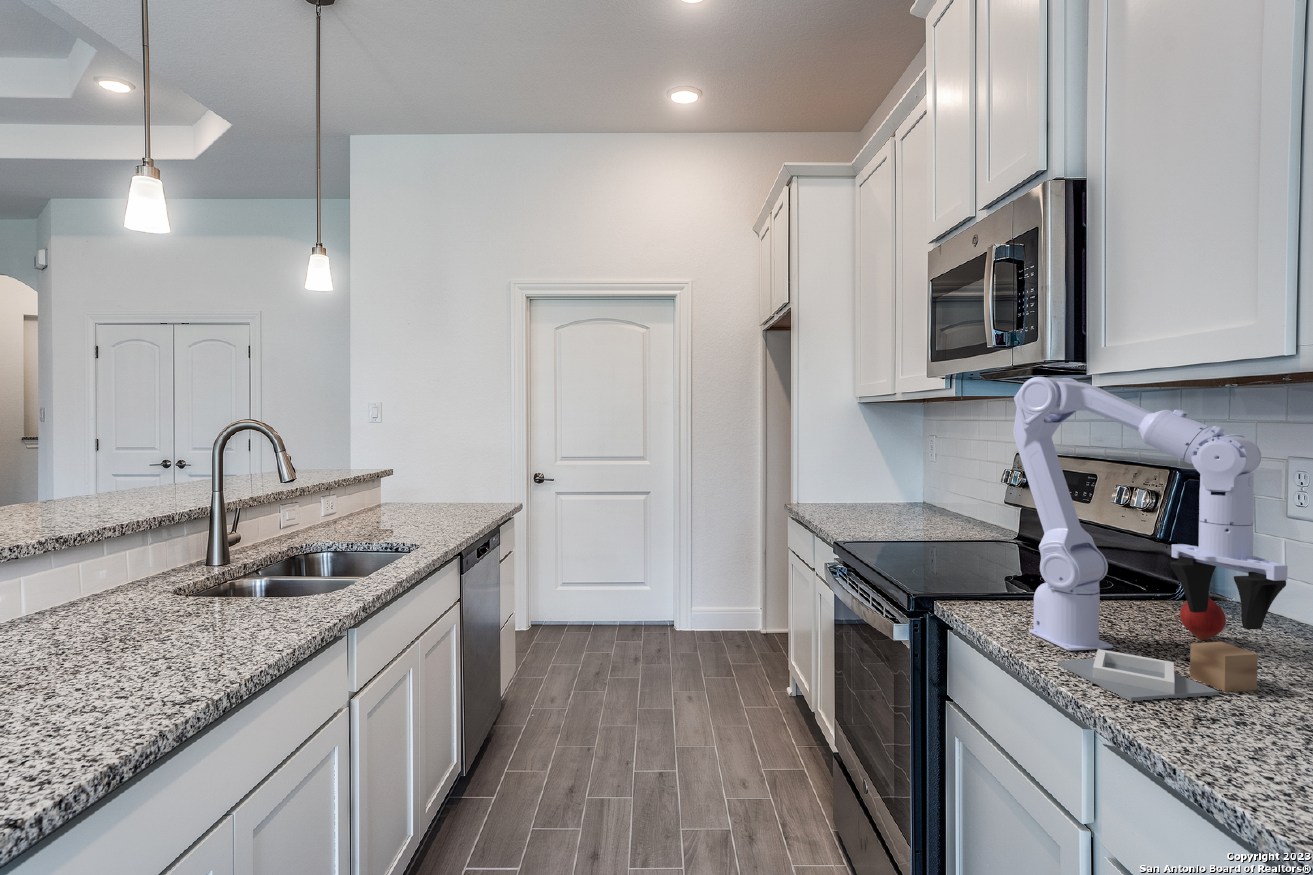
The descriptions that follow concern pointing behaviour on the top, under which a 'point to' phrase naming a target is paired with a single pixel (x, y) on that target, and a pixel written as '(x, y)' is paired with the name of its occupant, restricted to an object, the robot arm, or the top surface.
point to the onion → (1204, 620)
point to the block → (1223, 666)
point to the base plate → (1137, 691)
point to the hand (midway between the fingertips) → (1224, 619)
